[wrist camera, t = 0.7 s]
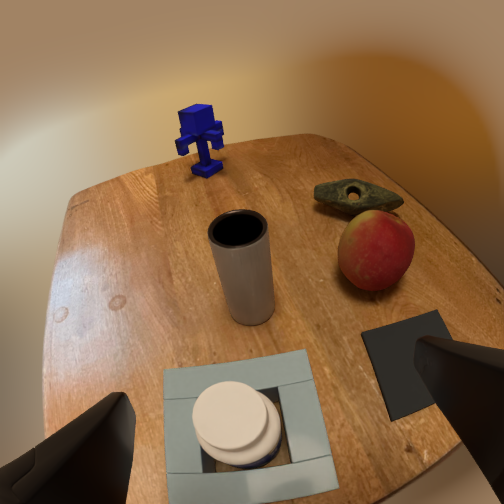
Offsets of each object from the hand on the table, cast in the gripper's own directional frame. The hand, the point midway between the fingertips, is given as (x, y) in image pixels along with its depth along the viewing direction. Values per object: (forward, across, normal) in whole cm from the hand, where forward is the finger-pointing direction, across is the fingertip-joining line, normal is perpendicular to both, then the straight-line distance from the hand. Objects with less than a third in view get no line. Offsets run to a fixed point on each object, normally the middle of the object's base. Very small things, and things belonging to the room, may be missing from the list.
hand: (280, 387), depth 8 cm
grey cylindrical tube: (+21, 0, +6) cm, 21 cm away
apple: (+21, -14, +5) cm, 25 cm away
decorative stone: (+30, -17, -1) cm, 34 cm away
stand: (+10, +2, +13) cm, 16 cm away
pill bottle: (+10, +2, +13) cm, 16 cm away
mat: (+11, -14, +11) cm, 21 cm away
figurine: (+46, +3, -10) cm, 47 cm away
